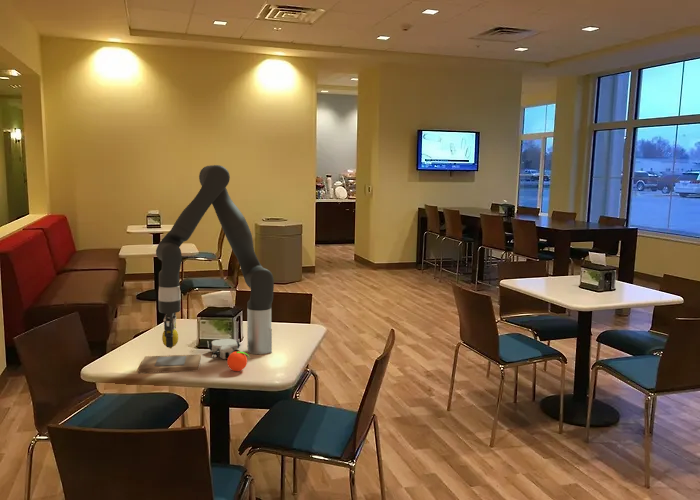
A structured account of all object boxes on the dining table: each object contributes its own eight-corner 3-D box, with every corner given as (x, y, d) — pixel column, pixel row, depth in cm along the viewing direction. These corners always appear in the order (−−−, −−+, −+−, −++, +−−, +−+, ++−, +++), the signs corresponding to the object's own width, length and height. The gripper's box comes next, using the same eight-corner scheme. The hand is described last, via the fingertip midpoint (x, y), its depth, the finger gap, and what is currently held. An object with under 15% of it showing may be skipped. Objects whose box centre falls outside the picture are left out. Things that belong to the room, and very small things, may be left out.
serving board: (200, 358, 223) (200, 353, 223) (198, 370, 209) (198, 365, 209) (144, 360, 219) (144, 355, 219) (138, 373, 205) (138, 368, 205)
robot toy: (244, 362, 223) (238, 347, 236) (244, 350, 222) (238, 336, 236) (210, 364, 219) (207, 349, 233) (210, 353, 218) (207, 338, 232)
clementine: (251, 367, 213) (251, 348, 212) (248, 374, 206) (248, 354, 206) (229, 367, 213) (229, 348, 212) (225, 373, 206) (225, 354, 205)
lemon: (173, 351, 210) (173, 329, 209) (159, 350, 211) (158, 328, 210) (181, 346, 215) (180, 325, 214) (167, 345, 217) (166, 324, 215)
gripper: (178, 302, 205) (179, 350, 207) (182, 294, 219) (183, 338, 221) (155, 303, 203) (157, 351, 205) (161, 294, 217) (162, 339, 219)
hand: (170, 344), depth 213 cm, fingers closed on lemon, 5 cm apart
